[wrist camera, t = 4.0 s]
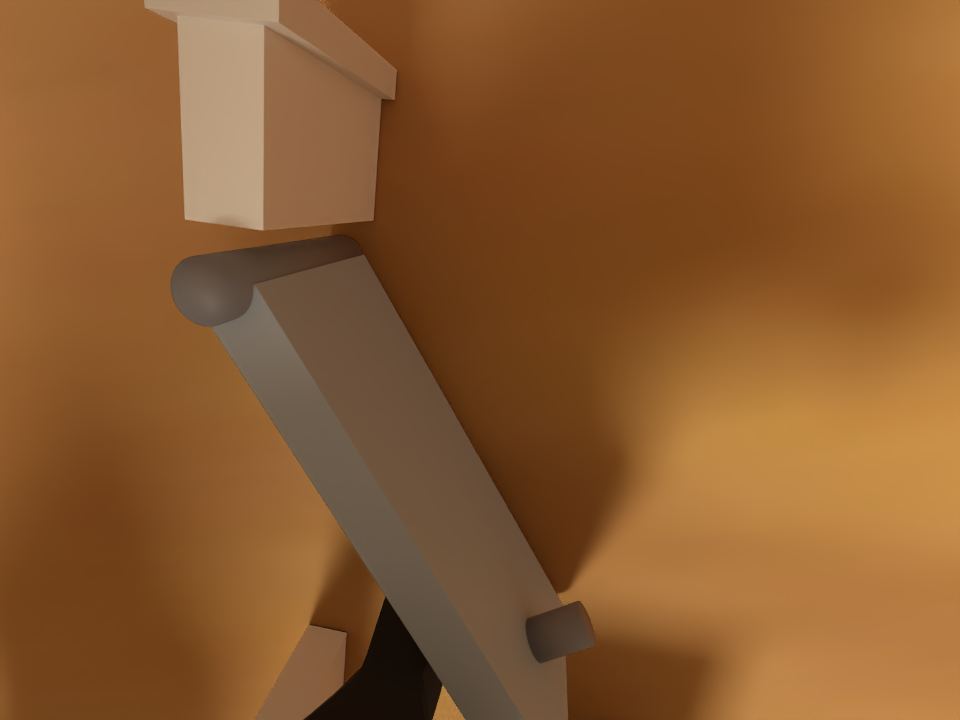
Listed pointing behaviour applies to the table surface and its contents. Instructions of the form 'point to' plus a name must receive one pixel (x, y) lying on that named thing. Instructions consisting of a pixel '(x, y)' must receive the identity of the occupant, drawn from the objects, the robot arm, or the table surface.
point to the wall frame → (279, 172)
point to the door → (392, 467)
